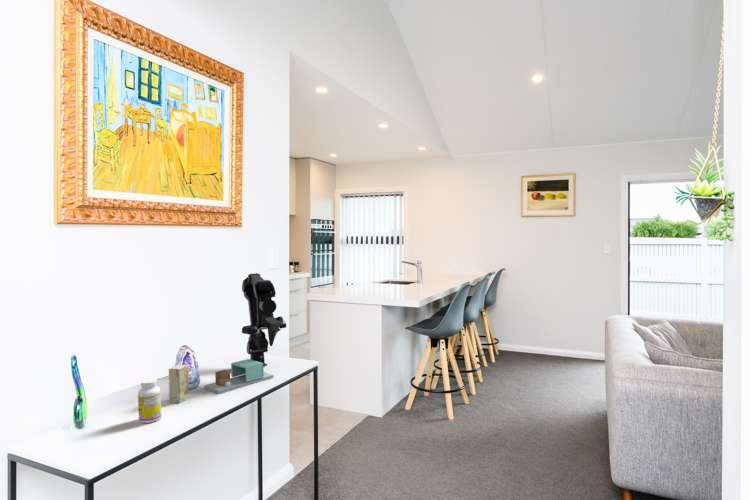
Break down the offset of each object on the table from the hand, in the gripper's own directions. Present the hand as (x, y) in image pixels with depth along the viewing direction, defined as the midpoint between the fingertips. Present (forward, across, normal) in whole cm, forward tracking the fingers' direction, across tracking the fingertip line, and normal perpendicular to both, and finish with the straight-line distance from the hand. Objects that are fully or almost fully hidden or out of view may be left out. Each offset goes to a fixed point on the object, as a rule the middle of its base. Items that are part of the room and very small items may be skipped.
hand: (265, 347), depth 199 cm
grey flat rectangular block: (+12, -12, 0) cm, 17 cm away
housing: (+10, -9, 0) cm, 14 cm away
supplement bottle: (+12, -52, -11) cm, 55 cm away
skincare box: (+12, -37, 0) cm, 39 cm away
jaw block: (+11, -20, 0) cm, 23 cm away
